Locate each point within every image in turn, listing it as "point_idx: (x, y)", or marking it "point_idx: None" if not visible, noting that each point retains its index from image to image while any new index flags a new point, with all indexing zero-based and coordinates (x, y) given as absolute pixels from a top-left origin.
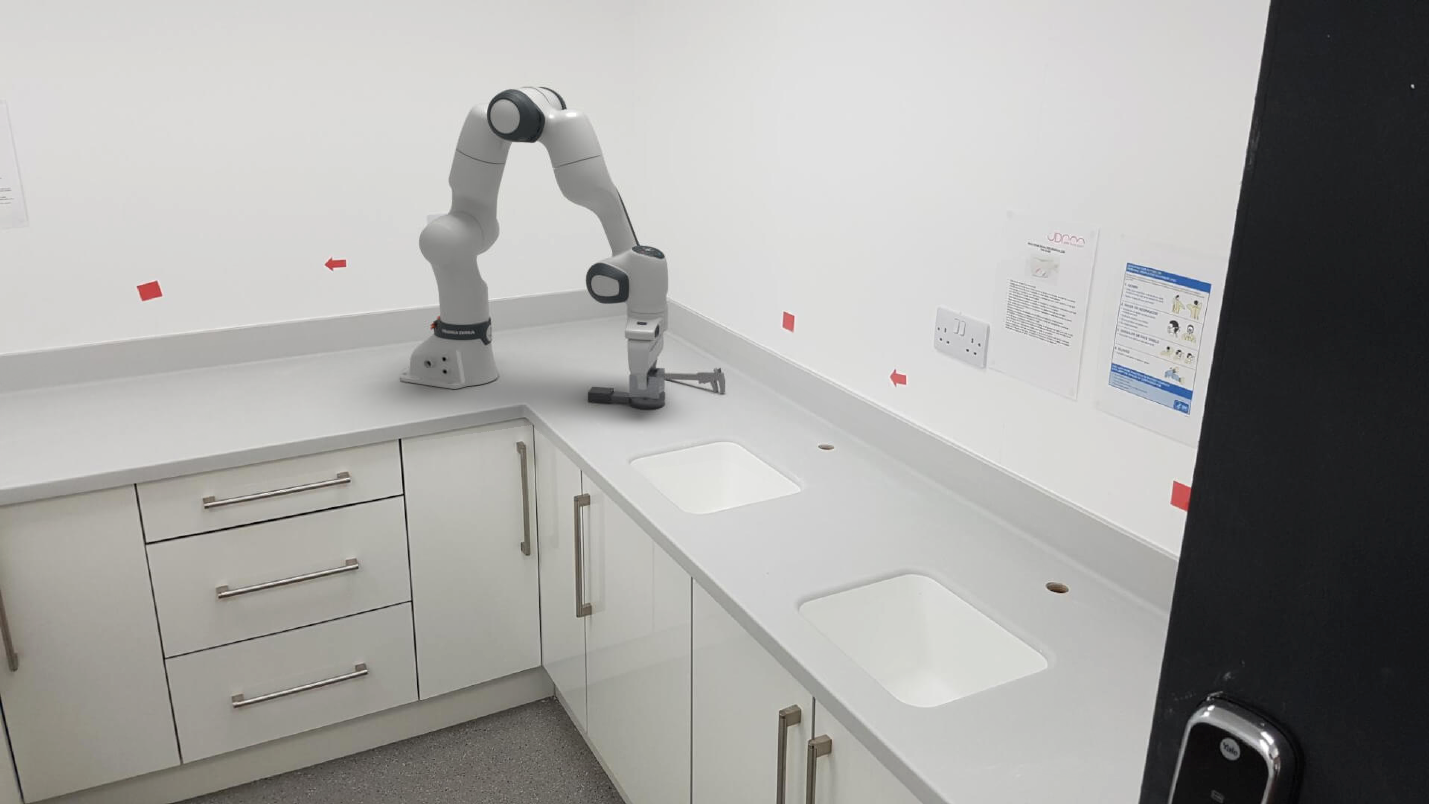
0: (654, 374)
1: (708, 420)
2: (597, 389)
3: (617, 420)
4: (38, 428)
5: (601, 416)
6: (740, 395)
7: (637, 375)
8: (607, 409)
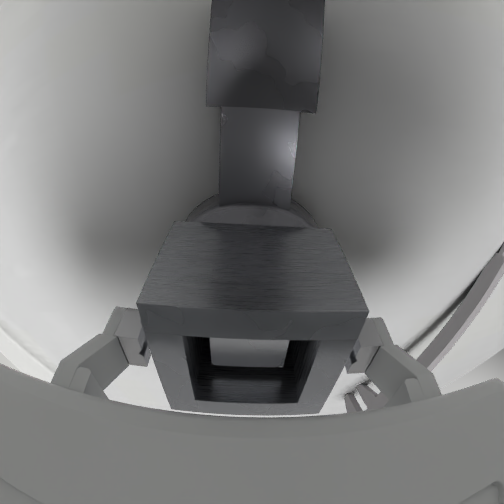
0: (299, 368)
1: (160, 388)
2: (274, 23)
3: (50, 189)
4: None
5: (63, 119)
6: (334, 413)
7: (63, 366)
8: (139, 112)
